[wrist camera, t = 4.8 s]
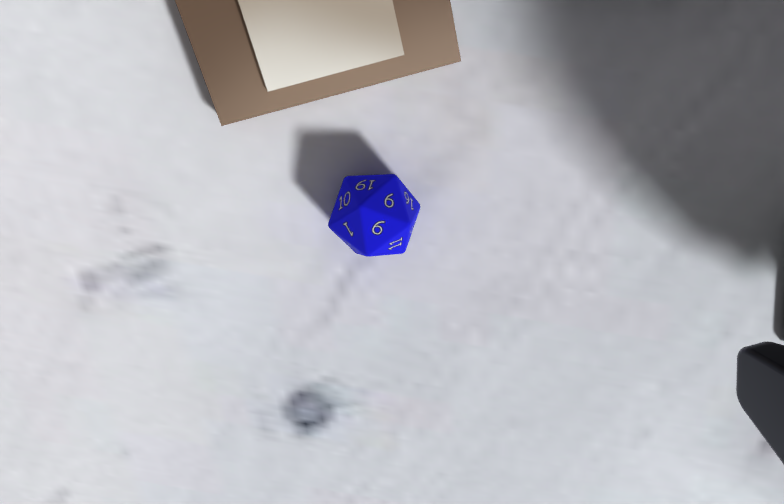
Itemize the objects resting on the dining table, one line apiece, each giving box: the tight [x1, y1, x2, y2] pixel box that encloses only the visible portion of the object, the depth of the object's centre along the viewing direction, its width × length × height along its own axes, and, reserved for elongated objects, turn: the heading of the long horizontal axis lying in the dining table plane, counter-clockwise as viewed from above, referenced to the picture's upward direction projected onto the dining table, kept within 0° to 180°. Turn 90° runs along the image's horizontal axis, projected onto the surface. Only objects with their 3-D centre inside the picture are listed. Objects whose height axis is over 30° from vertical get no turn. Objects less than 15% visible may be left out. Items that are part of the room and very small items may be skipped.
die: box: [328, 174, 420, 256], centre depth 18 cm, size 3×3×3 cm
